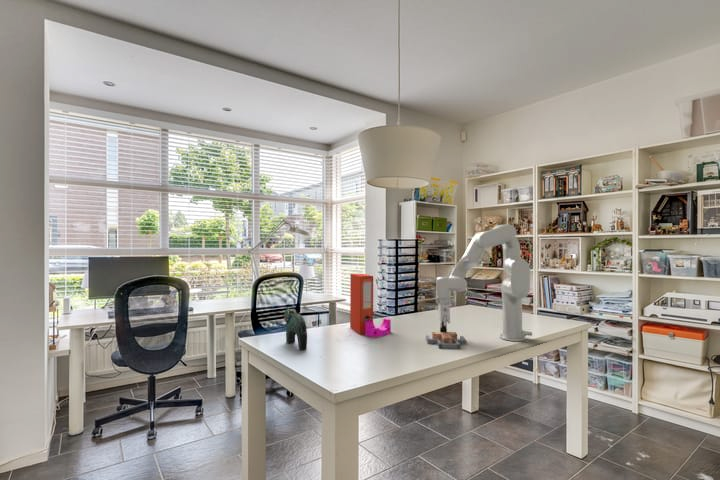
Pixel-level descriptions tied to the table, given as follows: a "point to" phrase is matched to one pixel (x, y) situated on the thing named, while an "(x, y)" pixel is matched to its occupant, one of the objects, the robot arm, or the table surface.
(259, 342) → the table surface
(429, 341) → the T outline
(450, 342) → the T block
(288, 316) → the dark green animal figurine
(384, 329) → the toy block
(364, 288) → the file binder
